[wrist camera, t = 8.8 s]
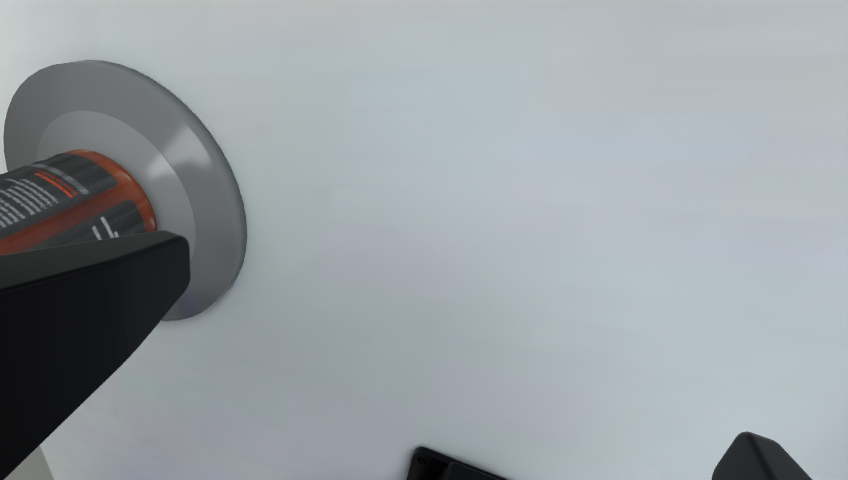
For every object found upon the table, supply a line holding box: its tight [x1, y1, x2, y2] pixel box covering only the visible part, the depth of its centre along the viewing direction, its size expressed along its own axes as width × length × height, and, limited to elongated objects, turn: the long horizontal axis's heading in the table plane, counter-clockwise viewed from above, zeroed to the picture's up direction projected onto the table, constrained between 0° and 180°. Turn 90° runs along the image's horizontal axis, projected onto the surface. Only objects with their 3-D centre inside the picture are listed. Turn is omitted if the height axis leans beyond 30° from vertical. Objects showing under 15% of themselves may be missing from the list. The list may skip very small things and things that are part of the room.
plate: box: [4, 60, 247, 321], centre depth 26 cm, size 13×13×1 cm
